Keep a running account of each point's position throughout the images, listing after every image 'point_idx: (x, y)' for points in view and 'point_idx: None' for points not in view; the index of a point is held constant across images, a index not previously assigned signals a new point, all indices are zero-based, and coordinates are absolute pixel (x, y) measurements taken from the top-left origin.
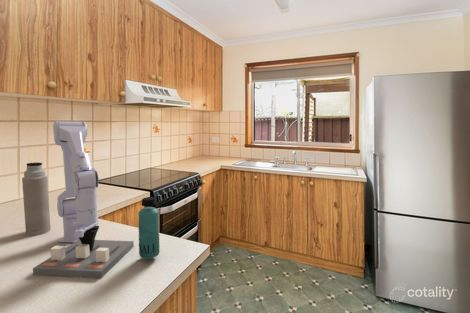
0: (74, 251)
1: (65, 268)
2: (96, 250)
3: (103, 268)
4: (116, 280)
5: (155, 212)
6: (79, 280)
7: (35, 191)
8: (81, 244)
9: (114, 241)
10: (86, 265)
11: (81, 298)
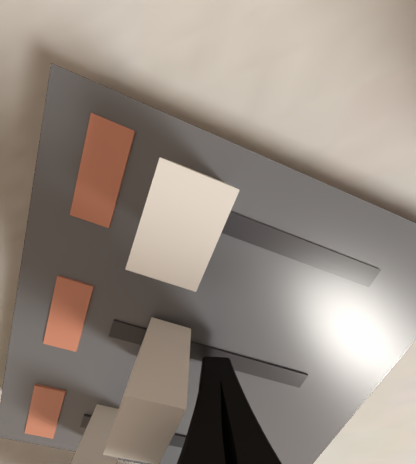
0: (271, 276)
1: (32, 290)
2: None
3: (22, 439)
4: (7, 440)
5: None
6: (10, 334)
7: None
8: (173, 421)
9: (327, 432)
10: (61, 375)
11: None
